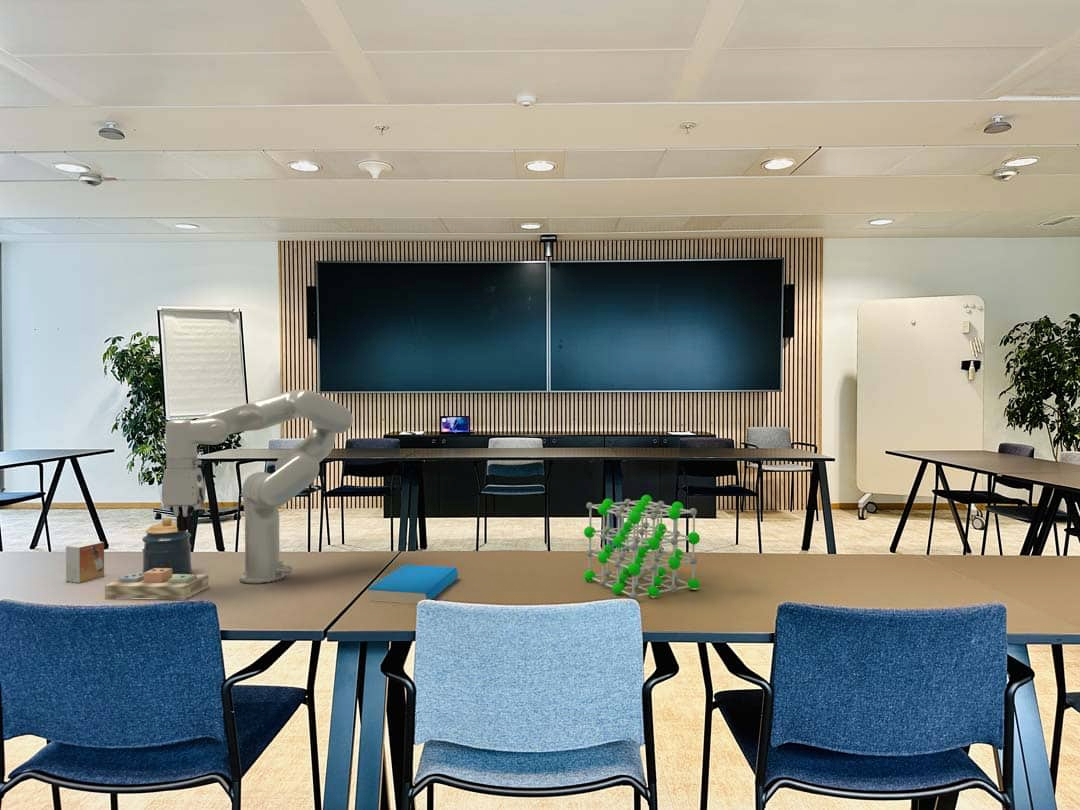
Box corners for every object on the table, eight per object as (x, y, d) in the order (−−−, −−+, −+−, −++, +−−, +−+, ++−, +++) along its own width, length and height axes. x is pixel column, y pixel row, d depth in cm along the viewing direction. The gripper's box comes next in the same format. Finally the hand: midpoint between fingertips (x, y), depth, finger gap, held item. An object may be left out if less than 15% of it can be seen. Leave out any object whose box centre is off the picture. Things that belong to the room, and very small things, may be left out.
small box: (79, 583, 197) (78, 547, 196) (65, 581, 198) (64, 546, 198) (105, 576, 204) (104, 541, 204) (91, 574, 206) (91, 540, 206)
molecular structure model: (646, 570, 212) (647, 493, 211) (702, 591, 190) (703, 505, 190) (581, 581, 200) (581, 499, 200) (633, 604, 178) (633, 513, 178)
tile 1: (196, 585, 190) (196, 573, 190) (186, 590, 185) (186, 578, 185) (179, 584, 190) (179, 573, 190) (168, 590, 185) (168, 578, 185)
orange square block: (172, 579, 190) (172, 567, 190) (161, 584, 185) (161, 572, 185) (155, 578, 190) (154, 567, 190) (143, 583, 185) (143, 572, 185)
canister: (163, 569, 213) (163, 513, 212) (200, 571, 210) (200, 514, 210) (132, 580, 200) (131, 520, 199) (171, 582, 198) (170, 522, 197)
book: (367, 588, 181) (403, 563, 205) (367, 604, 181) (404, 577, 205) (428, 591, 177) (458, 566, 202) (428, 608, 178) (458, 580, 202)
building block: (148, 584, 190) (148, 572, 190) (136, 589, 185) (136, 577, 185) (131, 583, 191) (130, 572, 191) (119, 589, 186) (118, 577, 186)
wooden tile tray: (208, 587, 193) (208, 574, 193) (184, 600, 181) (184, 586, 181) (134, 585, 194) (133, 573, 194) (104, 598, 182) (104, 585, 182)
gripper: (215, 462, 190) (217, 527, 191) (163, 462, 191) (165, 527, 192) (201, 465, 183) (202, 533, 184) (147, 465, 184) (149, 533, 184)
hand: (183, 530), depth 188 cm, fingers closed
